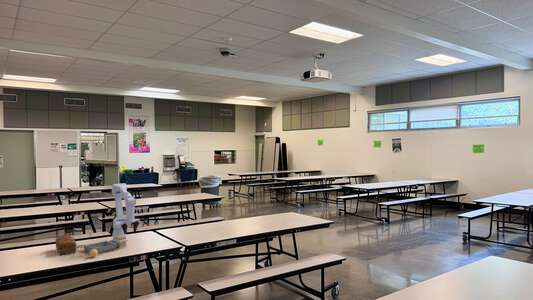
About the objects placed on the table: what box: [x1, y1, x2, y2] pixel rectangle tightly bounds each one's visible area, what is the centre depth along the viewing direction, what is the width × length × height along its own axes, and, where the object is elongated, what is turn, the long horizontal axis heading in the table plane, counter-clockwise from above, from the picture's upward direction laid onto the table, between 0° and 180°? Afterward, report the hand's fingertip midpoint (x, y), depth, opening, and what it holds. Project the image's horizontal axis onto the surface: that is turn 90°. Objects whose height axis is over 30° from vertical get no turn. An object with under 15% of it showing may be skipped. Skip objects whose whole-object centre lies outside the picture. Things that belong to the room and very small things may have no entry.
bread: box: [55, 234, 77, 256], centre depth 240 cm, size 19×11×10 cm, turn 37°
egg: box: [88, 249, 99, 258], centre depth 227 cm, size 5×5×5 cm
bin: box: [83, 240, 118, 254], centre depth 244 cm, size 14×16×4 cm
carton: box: [115, 235, 127, 248], centre depth 252 cm, size 5×5×7 cm
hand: (130, 233), depth 252 cm, fingers open, 7 cm apart
